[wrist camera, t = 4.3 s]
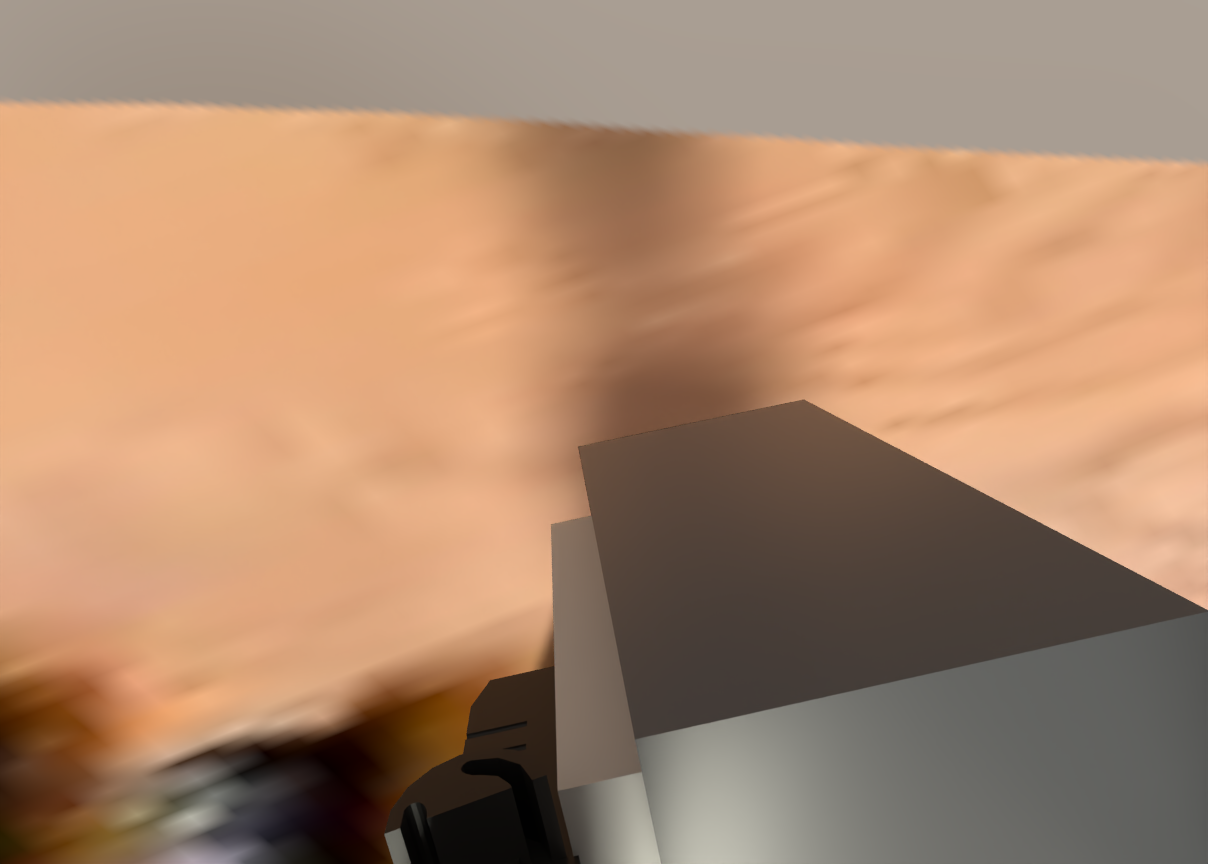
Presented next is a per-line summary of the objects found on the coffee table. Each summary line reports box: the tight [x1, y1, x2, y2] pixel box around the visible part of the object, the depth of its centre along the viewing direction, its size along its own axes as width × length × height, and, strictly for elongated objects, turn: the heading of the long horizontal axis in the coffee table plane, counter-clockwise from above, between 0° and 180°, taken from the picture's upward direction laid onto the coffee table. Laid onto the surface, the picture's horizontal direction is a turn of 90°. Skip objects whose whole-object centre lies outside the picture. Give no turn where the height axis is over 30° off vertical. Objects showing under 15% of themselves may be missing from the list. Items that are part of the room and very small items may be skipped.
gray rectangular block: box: [578, 400, 1208, 864], centre depth 9 cm, size 4×5×8 cm
